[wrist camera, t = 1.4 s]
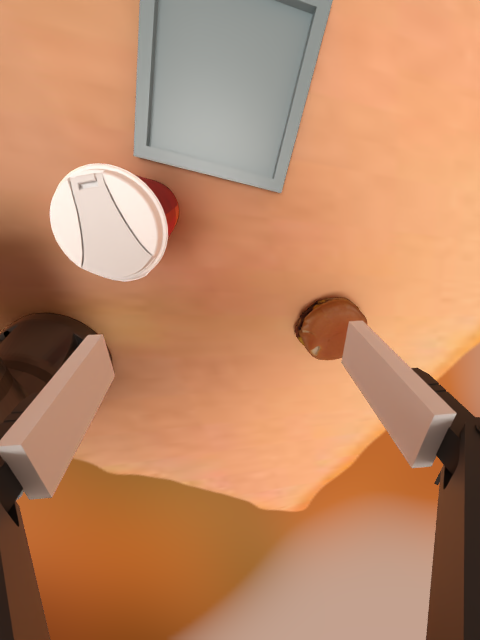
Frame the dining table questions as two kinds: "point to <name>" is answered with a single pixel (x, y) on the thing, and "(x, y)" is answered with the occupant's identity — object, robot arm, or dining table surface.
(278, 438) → the dining table surface
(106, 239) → the coffee cup
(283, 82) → the tray
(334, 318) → the burger
